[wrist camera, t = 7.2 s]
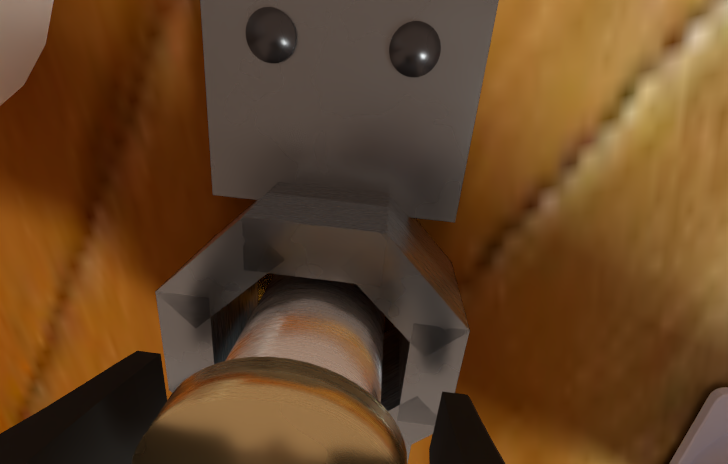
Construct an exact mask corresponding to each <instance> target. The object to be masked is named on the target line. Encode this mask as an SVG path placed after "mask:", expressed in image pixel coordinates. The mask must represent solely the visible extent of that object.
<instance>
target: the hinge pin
mask: <svg viewBox="0 0 728 464" xmlns="http://www.w3.org/2000/svg"><path fill="white" fill-rule="evenodd" d="M384 318H385V315H384V314H383V312H382V311H381V310H380V309H379V308H378V307H377V306H376V305H375V304H374V303H373V302H372V301H371V300H370V298H369V297H368V296H367V295H366V294H365V293H364V292H363V291H362V290H361V289H360V288H359V287H358V285H357V284H354V283H346V282H338V281H329V280H321V279H313V278H305V277H296V276H288V275H280V274H275V275H274V276H273V278H272V280H271V282H270V283H269V285H268V287H267V289H266V290H265V292H264V294H263V296H262V297H261V299H260V301H259V303H258V304H257V306H256V308H255V310H254V311H253V313H252V315H251V317H250V318H249V320H248V322H247V324H246V325H245V327H244V329H243V331H242V332H241V334H240V336H239V338H238V339H237V341H236V343H235V345H234V346H233V348H232V350H231V352H230V353H229V355H228V357H227V359H226V360H225V361H223V362H219V363H217V364H214V365H211V366H208V367H206V368H204V369H202V370H200V371H198V372H196V373H194V374H193V375H191V376H190V377H189V378H187V379H186V380H185V381H183V382H182V383H181V384H180V385H179V386H178V387H177V388H176V390H175V391H174V392H173V393H172V395H171V396H170V398H169V399H168V400H167V402H166V403H165V405H164V406H163V408H162V409H161V411H160V412H159V414H158V415H157V417H156V418H155V420H154V421H153V423H152V424H151V426H150V427H149V429H148V430H147V432H146V433H145V435H144V436H143V438H142V439H141V441H140V442H139V444H138V446H137V447H136V450H135V453H134V456H133V459H132V464H407V451H406V446H405V442H404V439H403V436H402V434H401V431H400V429H399V427H398V425H397V424H396V422H395V420H394V419H393V417H392V416H391V414H390V413H389V412H388V411H387V410H386V408H385V407H384V406H383V405H382V404H381V383H382V362H383V340H384Z"/></svg>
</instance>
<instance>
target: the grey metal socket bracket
mask: <svg viewBox="0 0 728 464" xmlns="http://www.w3.org/2000/svg"><path fill="white" fill-rule="evenodd" d="M498 1H499V0H200V5H201V20H202V36H203V51H204V67H205V82H206V98H207V114H208V129H209V145H210V160H211V176H212V192H213V195H218V196H227V197H236V198H244V199H253V200H256V201H255V202H254V203H253V204H252V205H251V206H250V207H248V208H247V209H246V210H245V211H244V212H243V213H241V214H240V215H239V216H238V217H237V218H236V219H235V220H233V221H232V222H231V223H230V224H229V225H228V226H226V227H225V228H224V229H223V230H222V231H221V232H219V233H218V234H217V235H216V236H214V237H213V238H212V239H211V240H210V241H209V242H208V243H207V244H206V245H205V246H204V247H203V248H202V249H200V250H199V251H198V252H197V253H196V254H195V255H194V256H193V257H192V258H191V259H190V260H189V261H188V262H186V263H185V264H184V265H183V266H182V267H181V268H180V269H179V270H178V271H177V272H176V273H175V274H174V275H172V276H171V277H170V278H169V279H168V280H167V281H166V282H165V283H164V284H163V285H162V286H161V287H160V288H158V289H157V290H156V292H155V293H156V299H157V306H158V313H159V320H160V327H161V335H162V342H163V349H164V356H165V363H166V371H167V378H168V385H169V390H170V391H171V392H172V393H173V392H174V391H175V390H176V388H177V387H178V386H179V385H180V384H181V383H182V382H183V381H185V380H186V379H187V378H189V377H190V376H191V375H193V374H194V373H196V372H198V371H200V370H202V369H204V368H206V367H208V366H211V365H214V364H217V363H219V362H223V361H225V360H226V359H227V357H228V355H229V353H230V352H231V350H232V348H233V346H234V345H235V343H236V341H237V339H238V338H239V336H240V334H241V332H242V331H243V329H244V327H245V325H246V324H247V322H248V320H249V318H250V317H251V315H252V313H253V311H254V310H255V308H256V306H257V304H258V280H259V279H261V278H262V277H263V276H265V275H266V274H267V273H272V274H280V275H288V276H296V277H305V278H313V279H321V280H329V281H338V282H346V283H354V284H357V285H358V287H359V288H360V289H361V290H362V291H363V292H364V293H365V294H366V295H367V296H368V297H369V298H370V300H371V301H372V302H373V303H374V304H375V305H376V306H377V307H378V308H379V309H380V310H381V311H382V312H383V314H384V315H385V316H386V317H387V318H388V319H389V320H390V321H391V322H392V323H393V324H394V325H395V327H394V328H392V329H390V330H389V331H387V332H386V333H384V340H383V362H382V383H381V404H382V405H383V406H384V407H385V408H386V410H387V411H388V412H389V413H390V414H391V416H392V417H393V419H394V420H395V422H396V424H397V425H398V427H399V429H400V431H401V434H402V436H403V439H404V442H405V446H406V451H407V463H408V458H409V453H410V448H411V444H413V443H415V442H417V441H419V440H421V439H423V438H425V437H427V436H429V435H431V434H433V431H434V427H435V422H436V418H437V413H438V409H439V404H440V400H441V395H442V391H443V392H450V393H455V389H456V385H457V381H458V377H459V373H460V369H461V365H462V360H463V356H464V352H465V348H466V344H467V340H468V336H469V332H470V329H469V326H468V322H467V318H466V314H465V311H464V307H463V303H462V300H461V296H460V292H459V289H458V285H457V281H456V278H455V274H454V270H453V266H452V263H451V261H450V260H449V259H448V258H447V256H446V255H445V254H444V253H443V252H442V250H441V249H440V248H439V247H438V245H437V244H436V243H435V242H434V241H433V239H432V238H431V237H430V236H429V235H428V233H427V232H426V231H425V230H424V228H423V227H422V226H421V225H420V224H419V222H418V221H417V220H416V219H415V218H420V219H429V220H438V221H446V222H455V219H456V214H457V209H458V204H459V199H460V194H461V189H462V184H463V179H464V174H465V169H466V163H467V158H468V153H469V148H470V143H471V138H472V133H473V128H474V123H475V118H476V113H477V108H478V103H479V98H480V92H481V87H482V82H483V77H484V72H485V67H486V62H487V57H488V52H489V47H490V42H491V37H492V32H493V27H494V21H495V16H496V11H497V6H498Z"/></svg>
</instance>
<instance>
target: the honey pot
mask: <svg viewBox="0 0 728 464" xmlns="http://www.w3.org/2000/svg"><path fill="white" fill-rule="evenodd" d="M53 2H54V0H0V106H1V105H2V104H3V103H4V102H5V101H6V100H8V99H9V98H10V97H11V96H12V95H13V94H14V93H16V92H17V91H18V90H19V89H20V88H21V87H22V86H24V84H25V82H26V80H27V79H28V77H29V75H30V73H31V71H32V69H33V67H34V65H35V63H36V62H37V60H38V58H39V56H40V54H41V52H42V50H43V48H44V47H45V45H46V40H47V34H48V29H49V23H50V18H51V13H52V7H53Z"/></svg>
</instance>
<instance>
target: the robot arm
mask: <svg viewBox="0 0 728 464" xmlns="http://www.w3.org/2000/svg"><path fill="white" fill-rule="evenodd" d="M166 402H167V396H166V389H165V382H164V375H163V368H162V361H161V354H158V353H150V352H143V351H136V352H135V353H133V354H131V355H129V356H128V357H126V358H124V359H123V360H121V361H120V362H118V363H116V364H115V365H113V366H111V367H110V368H108V369H107V370H105V371H104V372H102V373H100V374H99V375H97V376H96V377H94V378H92V379H91V380H89V381H88V382H86V383H84V384H83V385H81V386H80V387H78V388H76V389H75V390H73V391H72V392H70V393H68V394H67V395H65V396H63V397H62V398H60V399H59V400H57V401H55V402H54V403H52V404H51V405H49V406H47V407H46V408H44V409H42V410H41V411H39V412H37V413H36V414H34V415H32V416H30V417H29V418H27V419H25V420H23V421H22V422H20V423H18V424H17V425H15V426H13V427H11V428H10V429H8V430H6V431H4V432H3V433H1V434H0V464H132V459H133V456H134V453H135V450H136V447H137V446H138V444H139V442H140V441H141V439H142V438H143V436H144V435H145V433H146V432H147V430H148V429H149V427H150V426H151V424H152V423H153V421H154V420H155V418H156V417H157V415H158V414H159V412H160V411H161V409H162V408H163V406H164V405H165V403H166ZM429 455H430V464H505V462H504V461H503V459H502V457H501V455H500V454H499V452H498V450H497V448H496V447H495V445H494V443H493V441H492V439H491V438H490V436H489V434H488V432H487V430H486V428H485V426H484V425H483V423H482V421H481V419H480V417H479V415H478V413H477V411H476V409H475V407H474V405H473V403H472V401H471V399H470V398H469V396H468V395H465V394H458V393H450V392H443V391H442V395H441V400H440V404H439V409H438V413H437V418H436V422H435V427H434V431H433V435H432V440H431V444H430V449H429ZM669 464H728V387H721V388H718V389H715V390H714V391H712V392H711V393H710V395H709V396H708V398H707V400H706V401H705V403H704V405H703V407H702V408H701V410H700V412H699V413H698V415H697V417H696V419H695V420H694V422H693V424H692V425H691V427H690V429H689V431H688V432H687V434H686V436H685V437H684V439H683V441H682V443H681V444H680V446H679V448H678V449H677V451H676V453H675V455H674V456H673V458H672V460H671V461H670V463H669Z"/></svg>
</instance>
